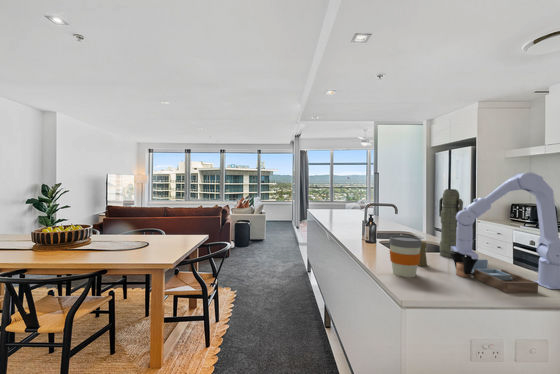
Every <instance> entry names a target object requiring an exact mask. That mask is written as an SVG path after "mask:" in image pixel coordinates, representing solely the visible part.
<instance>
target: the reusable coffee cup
mask: <svg viewBox="0 0 560 374" xmlns="http://www.w3.org/2000/svg"><path fill="white" fill-rule="evenodd" d="M388 240H389V241H388V244H389V248H390V249H389V258H390V262H391V266H392V274H393V273H394V275H396V276H398V277H402V276H403V278H414V277H416V276H417V271H418V267H419V266H418V264H419V260H420V254H421V253H420V248H421V246H422V245H421V241H422V239H421V238H419V237H417V236H412V235H399V234H398V235H391V236H390V237H389V239H388Z"/></svg>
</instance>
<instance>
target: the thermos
mask: <svg viewBox="0 0 560 374" xmlns="http://www.w3.org/2000/svg"><path fill="white" fill-rule="evenodd" d="M438 207H439V208H438V214H439V215H438V216H439V218H440V223H441V226H440V227H441V229H440V230H441V235H440V236H441V237H440V242H439V256H440V257H443V258H447V259H453V258H452V256H451V253H454V251H451V246H456V231H457V222H458V221H457V220H456V217H455V216H456V215H457V213H458V212H459V211H461V210H464V209H463V208H464V201H463V200H462V198H460V192H459V190H458V189H454V188H453V189H452V188H446V189H444V190H443V193H442V197H440V199H439V205H438Z"/></svg>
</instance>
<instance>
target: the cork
mask: <svg viewBox="0 0 560 374" xmlns="http://www.w3.org/2000/svg"><path fill="white" fill-rule="evenodd" d="M421 245H422V246H421V248H420V253H421V254H420V260H419V264H418V266H417V267H427V266H428V262H427V251H426V249H427V247H428V245H427V242H426V241H424V240H421Z"/></svg>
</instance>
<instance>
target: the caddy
mask: <svg viewBox="0 0 560 374" xmlns="http://www.w3.org/2000/svg"><path fill="white" fill-rule="evenodd" d="M500 271H502V272H504V273H507V274H509V275H510V277H511V278H513V280H500V279H498V278H495V277H493V276H491V275H488V274H486V273H484V272H481V271H479V270H477V269H474V273H473V279H476V280H477V281H480V282H482V283H484V284H486V285H488V286H491V287H492V288H494V289H497V290H498V291H501V292H503V293H504V294H505V293H507V294H508V293H509V294H510V293H511V294H513V293H514V294H517V293H521V294H523V293H528V294H531V293H532V294H535V293H536V294H537V293H539V284H538V283H537V282H535V281H536V280H531V279H530V278H526V277H523V276H521V275H518V274H516V273H513V272H510V271H508V270H505V269H500Z"/></svg>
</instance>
